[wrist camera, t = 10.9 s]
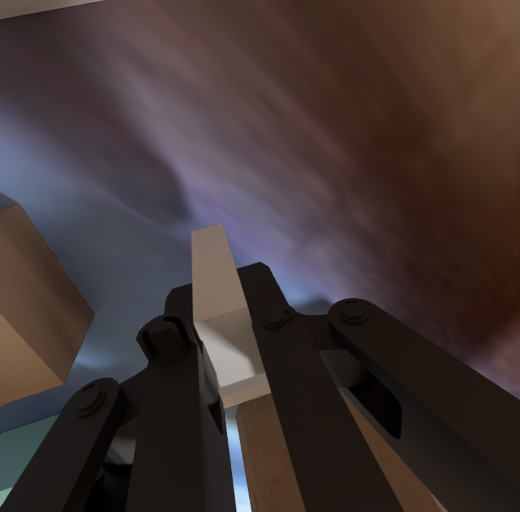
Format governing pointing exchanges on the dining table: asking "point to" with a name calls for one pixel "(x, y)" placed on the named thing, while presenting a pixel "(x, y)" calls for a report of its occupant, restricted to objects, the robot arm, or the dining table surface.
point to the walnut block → (35, 312)
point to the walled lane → (31, 435)
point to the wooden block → (281, 470)
